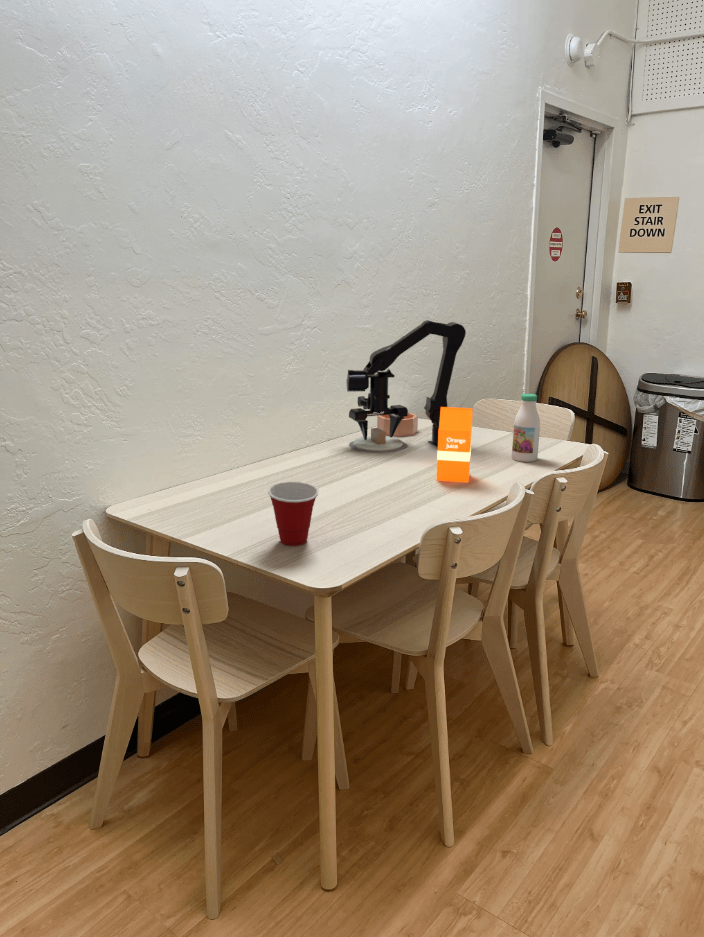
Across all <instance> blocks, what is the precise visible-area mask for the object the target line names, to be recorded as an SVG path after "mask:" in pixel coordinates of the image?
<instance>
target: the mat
mask: <svg viewBox="0 0 704 937" xmlns="http://www.w3.org/2000/svg"><path fill="white" fill-rule="evenodd" d="M402 442H403V446H402V447H401V448H400V449H397V450H392V451H366V450H361V449H358V448H356V447H354V440H352V441H351V442H349V443H348V447H349V448H350V449H352V450H356V451H358V452H363V453H371V454H373V453H374V454H386V453H387V454H388V453H396V452H400V451H404V450H405V449H407V447H408V444H407V443H406V442H404V441H402Z"/></svg>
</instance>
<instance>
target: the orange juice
mask: <svg viewBox="0 0 704 937" xmlns="http://www.w3.org/2000/svg"><path fill="white" fill-rule="evenodd" d="M472 433H473V407H472V408H471V407H470V408H469V407H453V406H452V407H451V406H447V407H441V411H440V422H439V432H438V447H437V454H436V455H437V456H436V480H437V481H438V482H439V481H440V482H454V483H469V480H470V470H471V468H470V467H471V455H472V454H471V452H472V438H473V437H472V435H473V434H472Z"/></svg>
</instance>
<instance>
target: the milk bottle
mask: <svg viewBox="0 0 704 937" xmlns="http://www.w3.org/2000/svg"><path fill="white" fill-rule="evenodd" d="M537 400H538V394H534V393H522V394H521V396H520V402H521V404H520V405H521V406H520V408H519V410H518V412H517V413H516V416H515V418H514V424H513V432H512V435H513V436H512V445H511V446H512V447H511V459H513V460H514V461H517V462H523V463H531V462H536V461H537V460H538V455H539V445H540V444H539V442H540V432H541V420H540V416H539V413H538V410H537V406H536V405H537V403H538V402H537Z"/></svg>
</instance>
